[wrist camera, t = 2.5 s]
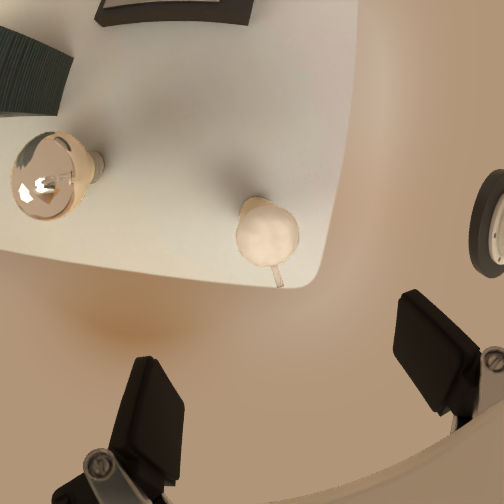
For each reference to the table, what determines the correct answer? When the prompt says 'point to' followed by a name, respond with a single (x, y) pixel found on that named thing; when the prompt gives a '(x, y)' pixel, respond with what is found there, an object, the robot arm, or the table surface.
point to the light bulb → (53, 175)
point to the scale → (173, 11)
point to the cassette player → (30, 76)
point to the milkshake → (266, 234)
